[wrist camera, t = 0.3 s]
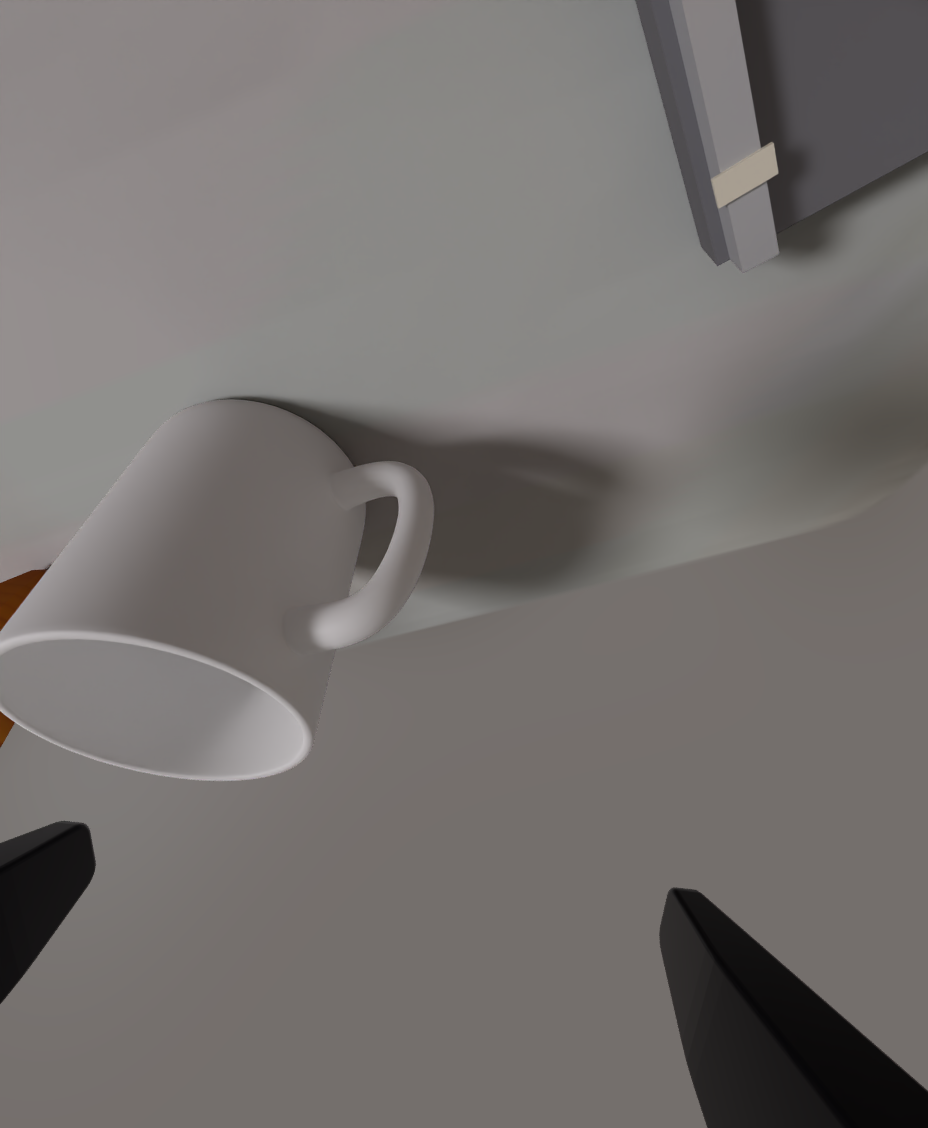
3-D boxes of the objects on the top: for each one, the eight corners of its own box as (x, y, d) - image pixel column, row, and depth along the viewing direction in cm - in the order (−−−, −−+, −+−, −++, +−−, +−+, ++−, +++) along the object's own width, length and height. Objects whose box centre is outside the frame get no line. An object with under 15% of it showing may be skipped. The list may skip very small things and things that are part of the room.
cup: (105, 438, 20) (-102, 676, 13) (383, 306, 16) (301, 544, 9) (253, 575, 25) (164, 794, 18) (486, 501, 21) (485, 742, 14)
